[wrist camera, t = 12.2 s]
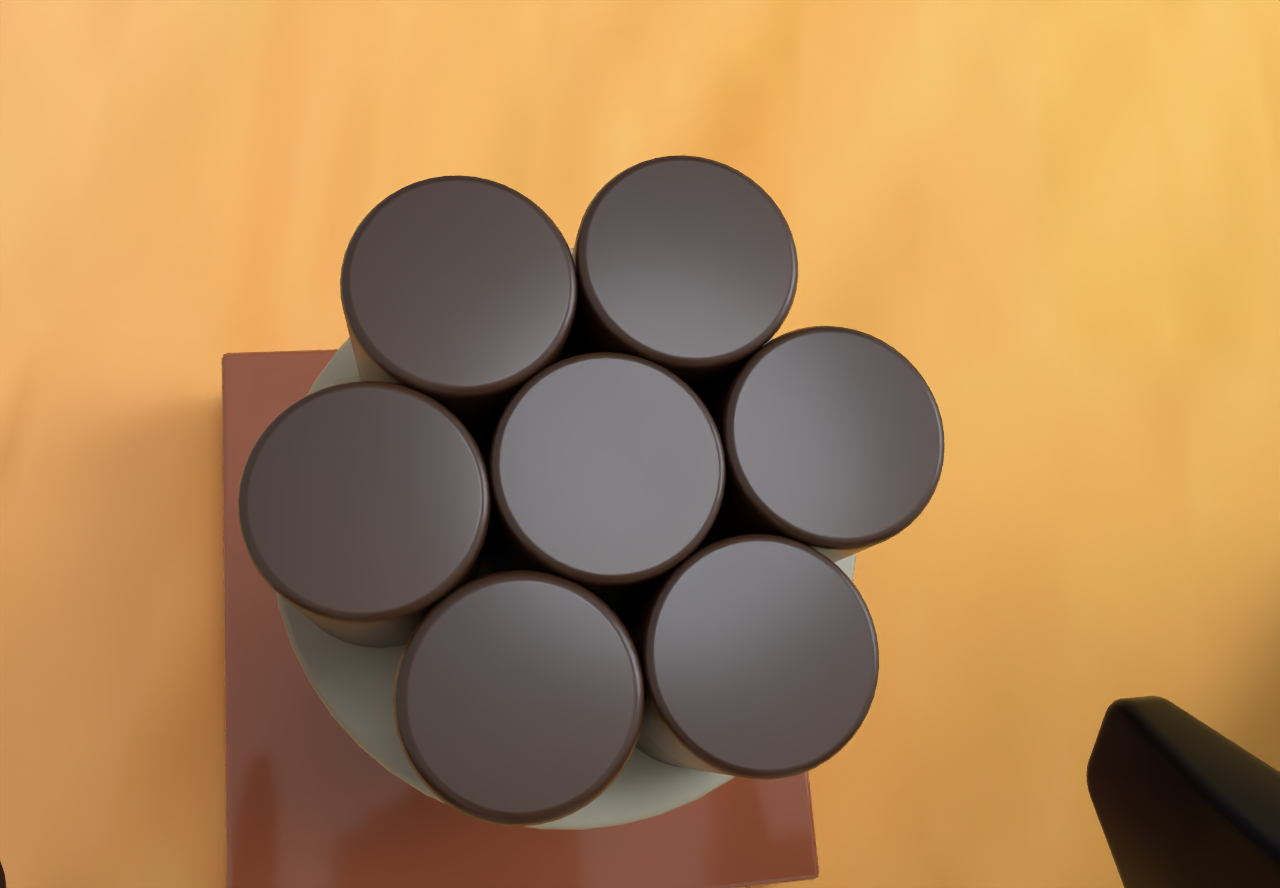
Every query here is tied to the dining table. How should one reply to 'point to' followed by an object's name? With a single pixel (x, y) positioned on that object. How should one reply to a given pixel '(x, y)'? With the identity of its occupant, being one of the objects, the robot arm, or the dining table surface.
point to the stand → (394, 810)
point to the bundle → (587, 499)
